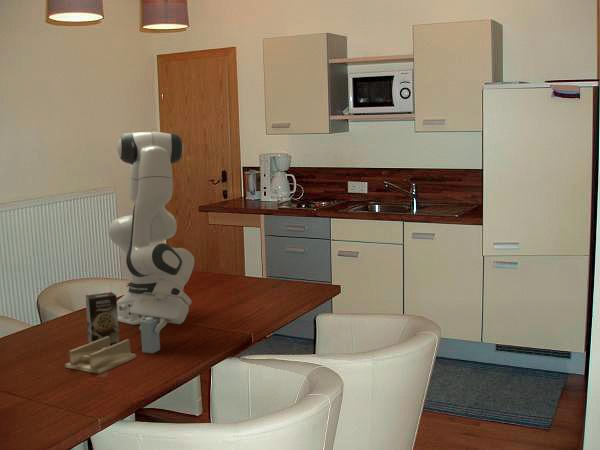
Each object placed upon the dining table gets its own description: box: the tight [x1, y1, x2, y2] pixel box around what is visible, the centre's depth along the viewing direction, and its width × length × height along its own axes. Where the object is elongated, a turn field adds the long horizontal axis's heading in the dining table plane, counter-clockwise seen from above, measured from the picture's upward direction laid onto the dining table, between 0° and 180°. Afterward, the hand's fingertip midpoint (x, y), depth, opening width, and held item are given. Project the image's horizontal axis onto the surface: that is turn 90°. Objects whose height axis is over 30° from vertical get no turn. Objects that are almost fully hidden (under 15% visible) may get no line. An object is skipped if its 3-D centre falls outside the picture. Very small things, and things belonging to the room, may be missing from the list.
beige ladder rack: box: [64, 336, 137, 374], centre depth 229 cm, size 14×16×5 cm
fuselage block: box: [139, 317, 161, 354], centre depth 238 cm, size 4×4×11 cm
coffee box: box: [85, 291, 120, 345], centre depth 249 cm, size 9×6×16 cm
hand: (148, 331), depth 237 cm, fingers closed on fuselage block, 4 cm apart
